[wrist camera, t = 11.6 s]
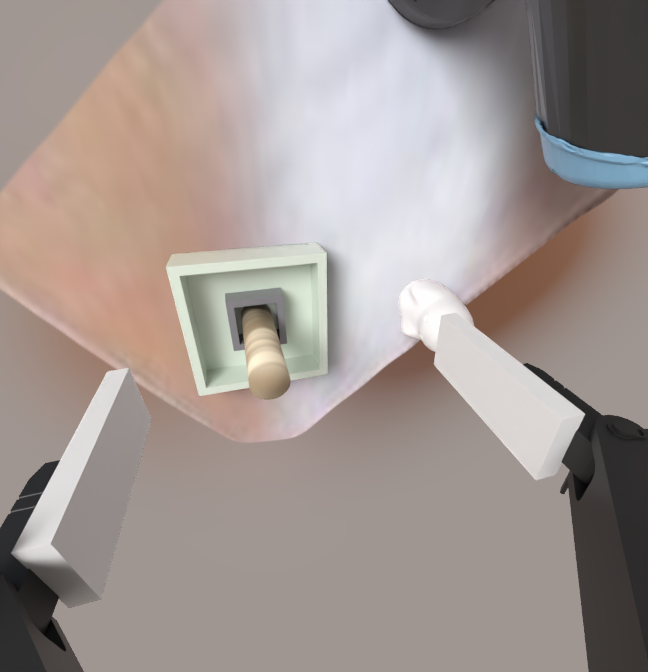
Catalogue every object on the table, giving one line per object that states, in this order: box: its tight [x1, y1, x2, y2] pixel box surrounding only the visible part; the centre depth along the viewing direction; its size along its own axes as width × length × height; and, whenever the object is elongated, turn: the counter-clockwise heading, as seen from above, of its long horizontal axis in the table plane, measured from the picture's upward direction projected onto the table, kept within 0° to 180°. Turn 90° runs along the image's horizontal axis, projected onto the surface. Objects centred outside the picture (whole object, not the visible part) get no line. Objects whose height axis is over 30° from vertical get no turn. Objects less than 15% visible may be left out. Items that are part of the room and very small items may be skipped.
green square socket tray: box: [166, 242, 328, 396], centre depth 40 cm, size 16×16×4 cm
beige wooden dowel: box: [241, 304, 290, 400], centre depth 35 cm, size 4×4×14 cm
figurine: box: [398, 279, 474, 352], centre depth 42 cm, size 7×8×12 cm
